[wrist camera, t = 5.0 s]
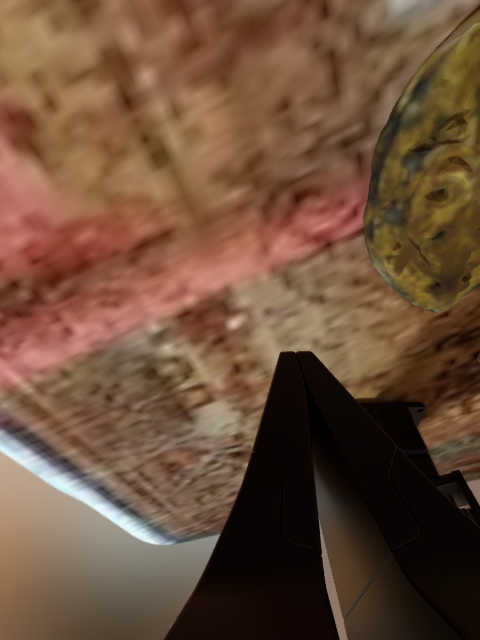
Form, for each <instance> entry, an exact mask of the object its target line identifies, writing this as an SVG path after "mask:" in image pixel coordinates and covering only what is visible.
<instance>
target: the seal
mask: <svg viewBox="0 0 480 640" xmlns="http://www.w3.org/2000/svg"><path fill="white" fill-rule="evenodd" d="M371 169H372V175H371V180H370V185H369V194H368V200H367V204H366V207H365V209H364V215H363V223H364V227H365V229H364V234H365V242H366V246H367V249H368V252H369V255H370V258H371V261H372V263H373V265H374V266H375V268H376V269H377V271H378V272H379V273H380V274H381V276H382V277H383V278H384V280H385V281H386V282H387V283H388V284H389V285H390V286H391V287H392V288H393V289H394V290H395V291H396V292H397V293H398V294H399V295H400V296H402V297H403V298H404V299H405V300H407V301H408V302H410V303H412V304H413V305H415V306H417V307H419V308H422V309H424V310H427V311H431V312H443V311H445V310H447V309H449V308H450V307H452V306H453V305H454V304H456V303H457V302H458V301H459V300H460V299H461V298H463V297H464V296H465V295H466V294H468V293H469V292H471V291H472V290H473V289H475V288H476V287H478V286H479V285H480V9H478V10H477V11H476V12H475V13H474V14H473V15H471V16H470V17H469V18H468V19H467V20H466V21H465V22H463V23H462V24H461V25H460V26H459V27H458V28H457V29H456V30H455V31H454V32H453V33H452V34H451V35H450V36H449V38H447V39H446V40H445V41H444V42H443V43H442V44H441V45H440V46H439V47H438V48H437V49H436V50H435V51H434V52H433V53H432V54H431V55H430V56H429V57H428V59H427V60H426V61H425V62H424V63H423V65H422V66H421V67H420V68H419V70H418V71H417V72H416V74H415V75H414V76H413V78H412V80H411V81H410V82H409V84H408V85H407V86H406V88H405V89H404V91H403V93H402V95H401V97H400V98H399V99H398V101H397V103H396V105H395V106H394V108H393V110H392V112H391V114H390V116H389V120H388V122H387V124H386V126H385V127H384V128H383V130H382V131H381V133H380V136H379V139H378V142H377V144H376V148H375V151H374V156H373V160H372V164H371Z"/></svg>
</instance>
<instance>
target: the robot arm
mask: <svg viewBox="0 0 480 640" xmlns="http://www.w3.org/2000/svg"><path fill="white" fill-rule="evenodd" d="M426 410H427V409H426V407H425V405H424V404H423V403H395V404H359V403H358V402H357V401H356V400H355V399H354V397H353V396H352V395H351V394H350V393H349V392H348V391H347V390H346V389H345V388H344V386H343V385H342V384H341V383H340V382H339V381H338V380H337V379H336V378H335V377H334V375H333V374H332V373H331V372H330V371H329V370H328V369H327V368H326V367H325V366H324V365H323V363H322V362H321V361H320V360H319V359H318V358H317V357H316V356H315V355H314V354H313V353H312V352H311V351H298V352H296V353H295V352H294V351H286V352H280V354H279V358H278V361H277V365H276V368H275V372H274V375H273V379H272V382H271V386H270V389H269V393H268V396H267V400H266V403H265V407H264V411H263V414H262V418H261V421H260V425H259V428H258V432H257V435H256V439H255V442H254V446H253V449H252V453H251V456H250V459H249V463H248V466H247V469H246V473H245V476H244V479H243V482H242V485H241V488H240V490H239V492H238V495H237V497H236V500H235V502H234V505H233V507H232V510H231V512H230V514H229V516H228V518H227V521H226V523H225V525H224V527H223V530H222V532H221V534H220V536H219V539H218V541H217V543H216V545H215V548H214V550H213V552H212V555H211V557H210V559H209V561H208V563H207V565H206V568H205V570H204V572H203V574H202V576H201V578H200V580H199V582H198V583H197V585H196V587H195V589H194V591H193V592H192V594H191V596H190V597H189V599H188V601H187V602H186V604H185V605H184V607H183V608H182V610H181V612H180V613H179V615H178V616H177V618H176V620H175V621H174V623H173V624H172V626H171V627H170V629H169V630H168V632H167V634H166V635H165V637H164V638H163V640H340V639H339V635H338V631H337V628H336V624H335V620H334V616H333V612H332V609H331V605H330V601H329V597H328V593H327V589H326V583H325V577H324V570H323V561H322V556H321V555H322V549H321V539H320V529H319V520H320V524H321V528H322V533H323V537H324V541H325V545H326V549H327V554H328V558H329V562H330V566H331V570H332V575H333V579H334V583H335V587H336V591H337V595H338V600H339V604H340V607H341V612H342V616H343V619H344V625H345V629H346V634H347V638H348V640H480V506H479V504H478V502H477V500H476V499H475V497H474V495H473V493H472V492H471V490H470V488H469V487H468V485H467V483H466V481H465V479H464V478H463V476H462V474H461V472H460V471H459V470H455V471H451V473H449V474H445V475H442V476H440V475H439V473H438V471H437V469H436V467H435V465H434V463H433V460H432V458H431V456H430V454H429V451H428V448H427V446H426V444H425V442H424V440H423V438H422V436H421V434H420V432H419V429H418V425H419V423H420V421H421V420H422V418H423V416H424V414H425V412H426ZM462 506H464V507H465V508H462V509H460V508H459V507H462ZM318 516H319V518H318Z"/></svg>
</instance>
